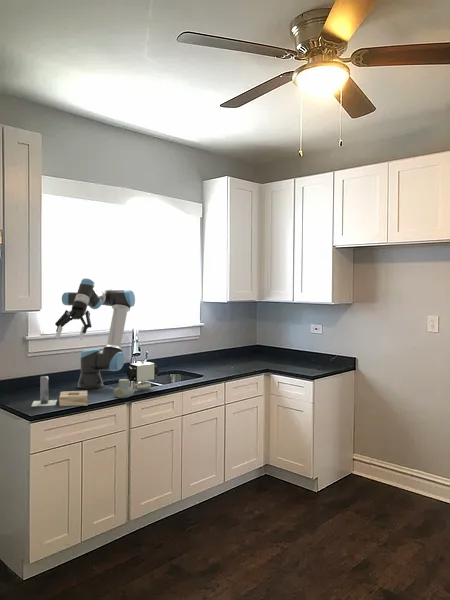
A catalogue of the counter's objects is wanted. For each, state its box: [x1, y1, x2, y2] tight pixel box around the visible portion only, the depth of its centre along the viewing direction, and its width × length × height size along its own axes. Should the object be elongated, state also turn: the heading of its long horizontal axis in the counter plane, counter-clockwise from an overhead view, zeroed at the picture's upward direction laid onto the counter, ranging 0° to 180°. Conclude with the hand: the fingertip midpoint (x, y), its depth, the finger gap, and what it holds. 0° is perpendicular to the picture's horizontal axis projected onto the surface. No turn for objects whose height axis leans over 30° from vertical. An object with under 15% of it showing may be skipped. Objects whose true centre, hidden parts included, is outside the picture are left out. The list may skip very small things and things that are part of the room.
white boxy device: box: [126, 360, 159, 392], centre depth 301 cm, size 18×8×18 cm, turn 129°
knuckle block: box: [58, 390, 88, 407], centre depth 268 cm, size 14×14×5 cm
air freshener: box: [113, 378, 135, 399], centre depth 283 cm, size 11×8×10 cm
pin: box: [39, 375, 49, 404], centre depth 266 cm, size 4×4×14 cm
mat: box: [30, 399, 58, 407], centre depth 266 cm, size 12×12×1 cm
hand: (68, 338), depth 260 cm, fingers open, 13 cm apart
